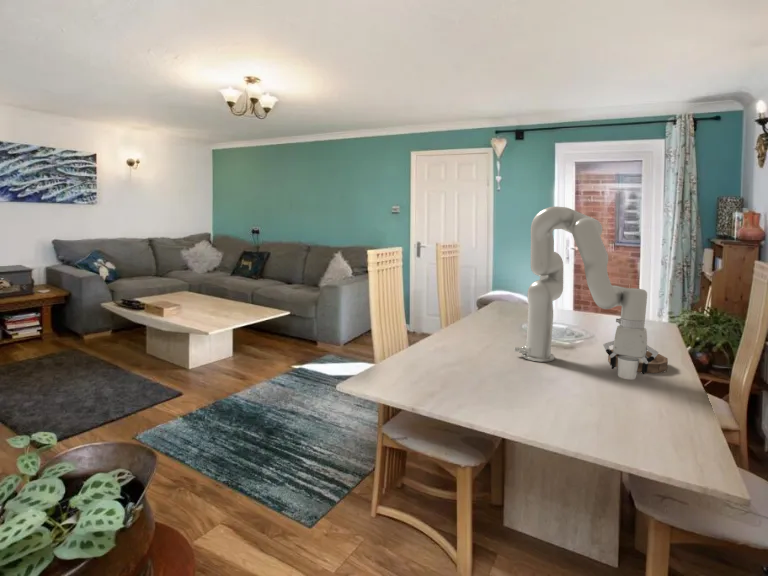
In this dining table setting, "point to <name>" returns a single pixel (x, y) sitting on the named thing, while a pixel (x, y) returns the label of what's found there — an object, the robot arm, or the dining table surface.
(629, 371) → the white cup
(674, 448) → the dining table surface
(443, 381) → the dining table surface
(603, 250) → the robot arm
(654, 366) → the round wooden tray
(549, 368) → the dining table surface
